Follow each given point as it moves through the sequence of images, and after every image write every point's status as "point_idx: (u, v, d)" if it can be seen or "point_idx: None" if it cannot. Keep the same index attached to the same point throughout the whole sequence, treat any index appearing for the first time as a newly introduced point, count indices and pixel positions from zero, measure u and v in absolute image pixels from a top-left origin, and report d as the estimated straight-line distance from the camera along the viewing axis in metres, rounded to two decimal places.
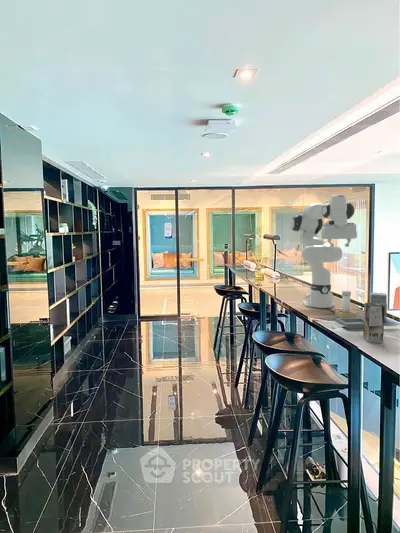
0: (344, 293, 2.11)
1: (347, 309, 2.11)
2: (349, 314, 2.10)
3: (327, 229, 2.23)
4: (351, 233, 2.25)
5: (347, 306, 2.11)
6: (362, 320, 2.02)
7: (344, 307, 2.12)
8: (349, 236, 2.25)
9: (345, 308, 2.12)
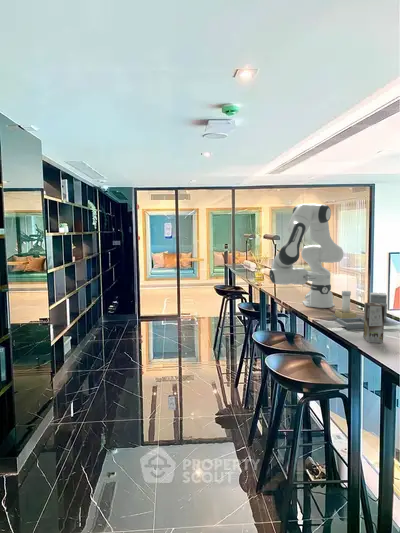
0: (344, 293, 2.11)
1: (347, 309, 2.11)
2: (349, 314, 2.10)
3: None
4: None
5: (347, 306, 2.11)
6: (362, 320, 2.02)
7: (344, 307, 2.12)
8: None
9: (345, 308, 2.12)
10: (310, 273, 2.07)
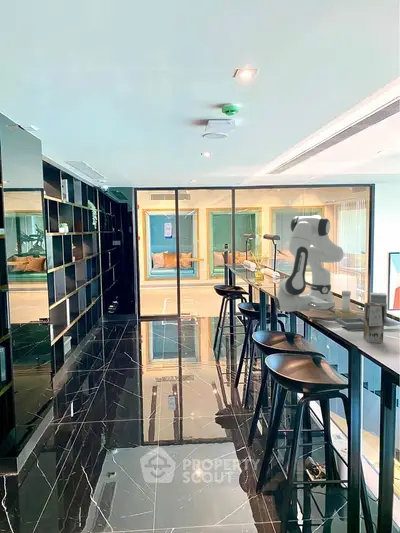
0: (344, 293, 2.11)
1: (347, 309, 2.11)
2: (349, 314, 2.10)
3: None
4: None
5: (347, 306, 2.11)
6: (362, 320, 2.02)
7: (344, 307, 2.12)
8: None
9: (345, 308, 2.12)
10: (315, 300, 2.09)
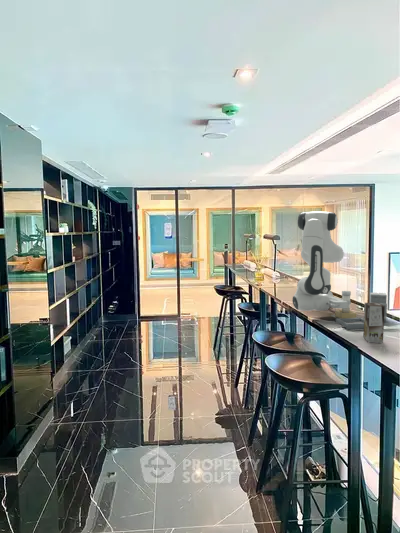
0: (344, 293, 2.11)
1: (347, 309, 2.11)
2: (349, 314, 2.10)
3: None
4: None
5: None
6: (362, 320, 2.02)
7: None
8: None
9: None
10: (333, 299, 2.10)
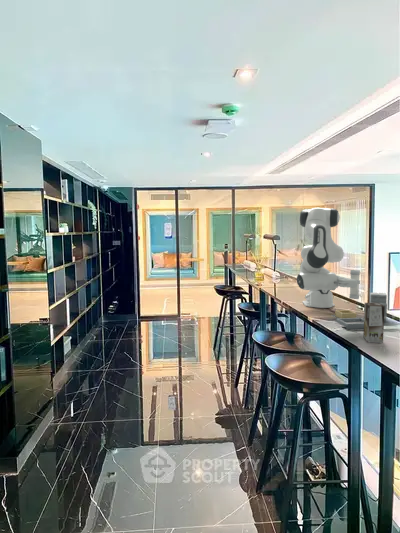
0: (353, 272, 1.96)
1: (356, 289, 1.96)
2: (349, 314, 2.10)
3: None
4: None
5: None
6: (362, 320, 2.02)
7: None
8: None
9: (353, 288, 1.96)
10: (341, 278, 1.95)
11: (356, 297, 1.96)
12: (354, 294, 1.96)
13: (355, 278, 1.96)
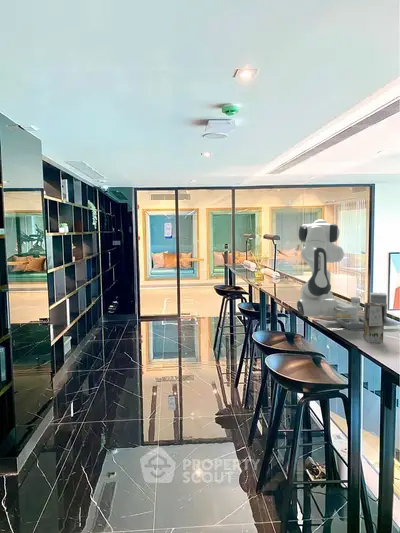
0: (353, 300, 1.96)
1: (356, 317, 1.96)
2: (349, 314, 2.10)
3: None
4: None
5: (356, 314, 1.96)
6: (362, 320, 2.02)
7: (353, 315, 1.97)
8: None
9: (354, 316, 1.96)
10: (341, 304, 1.95)
11: None
12: (354, 322, 1.97)
13: (355, 306, 1.96)
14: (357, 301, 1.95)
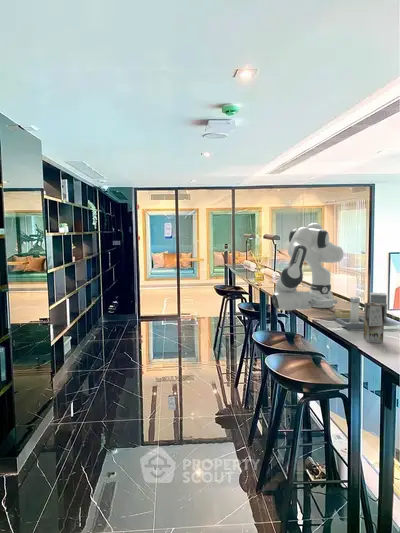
0: (353, 300, 1.96)
1: (356, 317, 1.96)
2: (349, 314, 2.10)
3: None
4: None
5: (356, 314, 1.96)
6: (362, 320, 2.02)
7: (353, 315, 1.97)
8: None
9: (353, 316, 1.96)
10: (316, 297, 1.93)
11: None
12: (354, 322, 1.97)
13: (355, 306, 1.96)
14: (357, 301, 1.95)
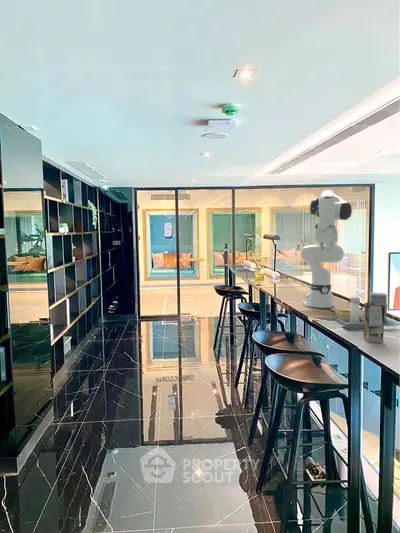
0: (353, 300, 1.96)
1: (356, 317, 1.96)
2: (349, 314, 2.10)
3: (316, 232, 2.23)
4: (328, 237, 2.09)
5: (356, 314, 1.96)
6: (362, 320, 2.02)
7: (353, 315, 1.97)
8: (327, 240, 2.10)
9: (353, 316, 1.96)
10: None
11: None
12: (354, 322, 1.97)
13: (355, 306, 1.96)
14: (357, 301, 1.95)
